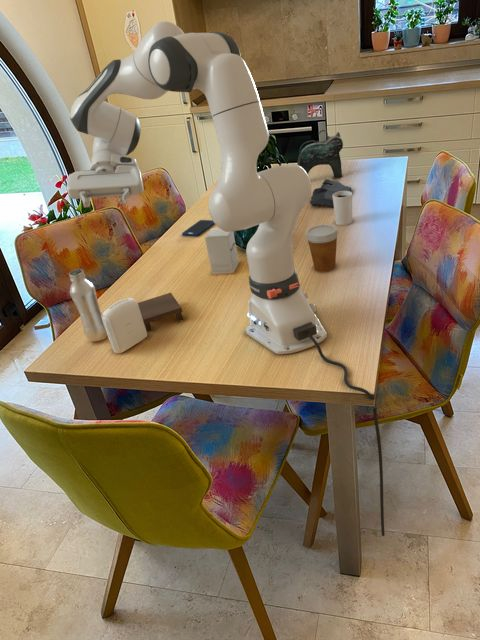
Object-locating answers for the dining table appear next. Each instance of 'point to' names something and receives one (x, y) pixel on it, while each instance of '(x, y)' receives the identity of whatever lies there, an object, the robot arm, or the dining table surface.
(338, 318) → the dining table surface
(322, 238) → the disposable coffee cup
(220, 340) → the dining table surface
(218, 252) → the white packaging box
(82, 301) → the aluminum water bottle
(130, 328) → the photo printer
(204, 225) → the cell phone
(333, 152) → the ceramic cat
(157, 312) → the walnut riser
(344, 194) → the white paper cup
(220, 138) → the robot arm
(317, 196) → the dark slate chunk
